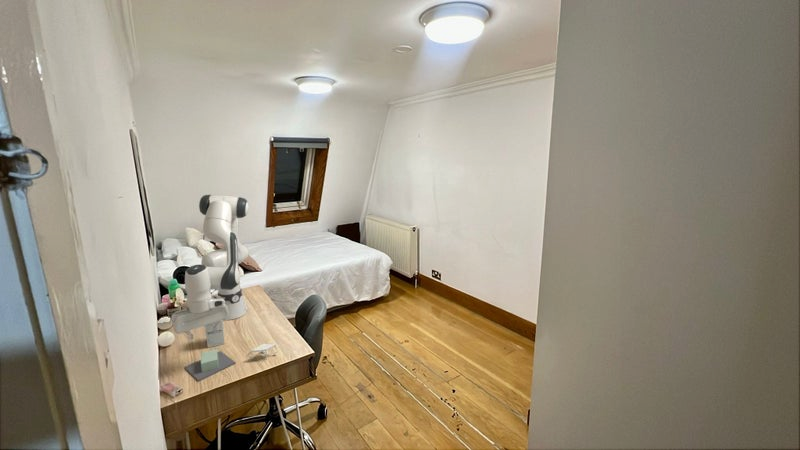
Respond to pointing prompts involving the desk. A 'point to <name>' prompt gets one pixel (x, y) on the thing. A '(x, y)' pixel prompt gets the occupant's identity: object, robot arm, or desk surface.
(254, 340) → the desk surface
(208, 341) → the supplement box
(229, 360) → the rubber mat
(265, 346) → the origami figure
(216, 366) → the card box
